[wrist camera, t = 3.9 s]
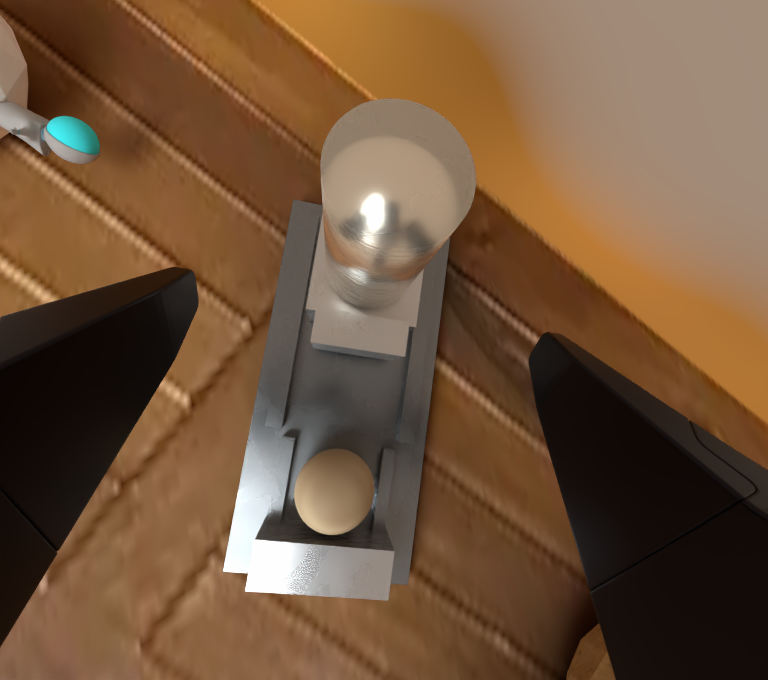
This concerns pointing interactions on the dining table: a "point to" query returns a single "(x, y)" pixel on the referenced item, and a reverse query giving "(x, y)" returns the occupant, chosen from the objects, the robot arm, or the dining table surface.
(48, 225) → the dining table surface
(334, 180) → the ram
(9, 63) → the perfume bottle
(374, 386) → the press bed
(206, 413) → the dining table surface
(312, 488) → the tan round ball
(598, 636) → the potato
